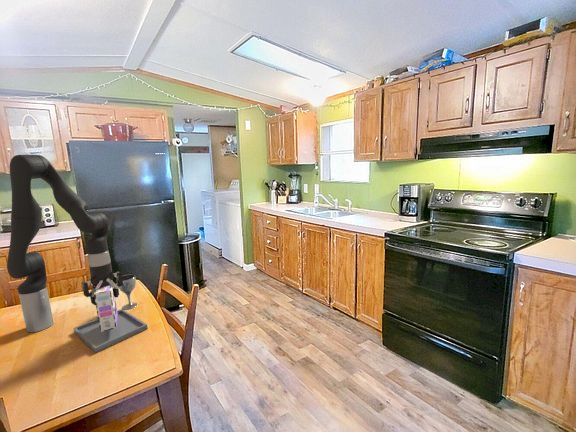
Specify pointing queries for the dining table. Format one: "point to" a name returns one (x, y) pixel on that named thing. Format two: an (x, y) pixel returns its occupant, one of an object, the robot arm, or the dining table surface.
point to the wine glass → (128, 289)
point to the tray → (109, 331)
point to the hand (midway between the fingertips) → (105, 300)
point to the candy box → (106, 308)
